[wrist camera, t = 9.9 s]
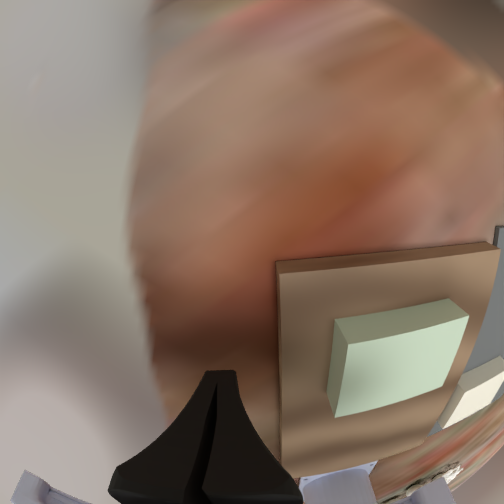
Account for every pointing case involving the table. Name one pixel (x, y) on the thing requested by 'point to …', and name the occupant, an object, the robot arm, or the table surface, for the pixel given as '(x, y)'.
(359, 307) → the board
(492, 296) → the mat
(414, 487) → the tangled rod sculpture
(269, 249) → the table surface
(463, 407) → the tile cream
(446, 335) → the tile sage
